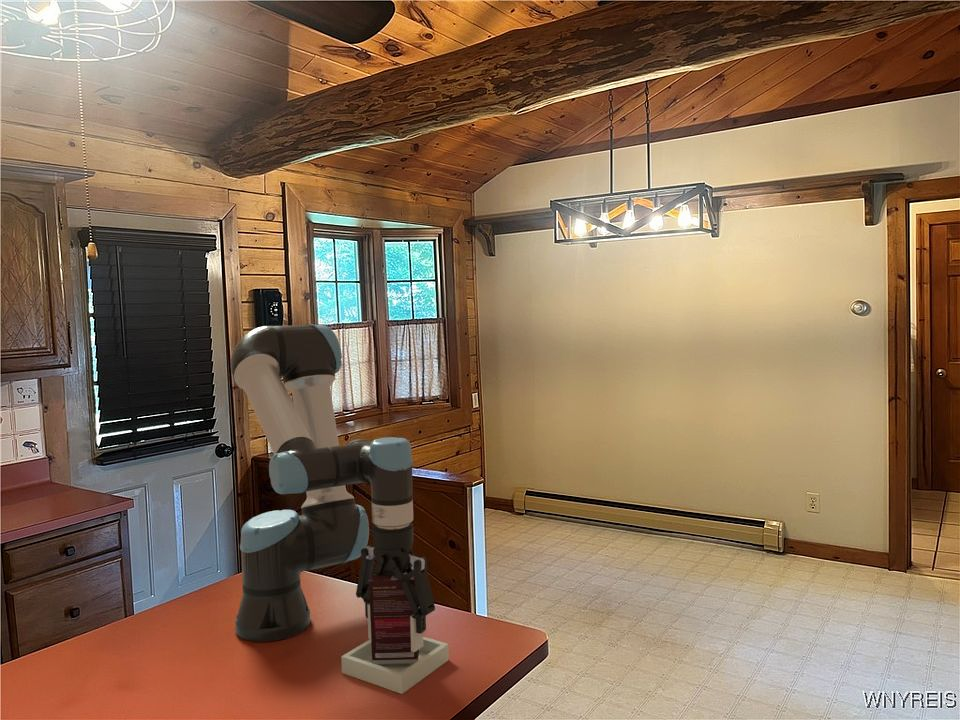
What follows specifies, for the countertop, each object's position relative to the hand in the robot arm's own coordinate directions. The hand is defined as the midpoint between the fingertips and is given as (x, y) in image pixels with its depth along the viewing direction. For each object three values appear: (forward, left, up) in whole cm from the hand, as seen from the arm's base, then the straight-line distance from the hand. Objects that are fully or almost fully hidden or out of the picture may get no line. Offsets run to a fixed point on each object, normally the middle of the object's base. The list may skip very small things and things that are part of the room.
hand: (395, 642), depth 134 cm
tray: (0, 0, -5) cm, 5 cm away
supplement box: (0, 0, -3) cm, 3 cm away
